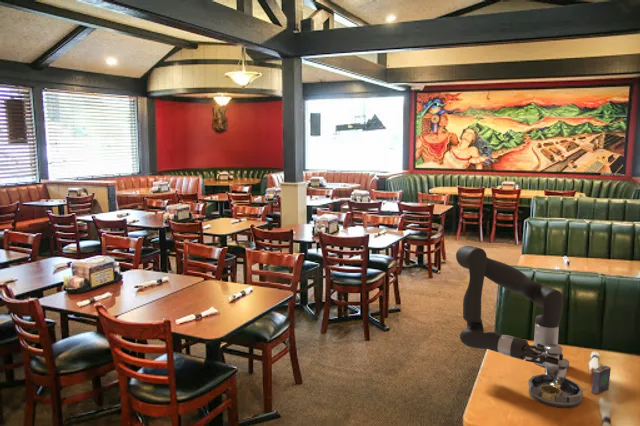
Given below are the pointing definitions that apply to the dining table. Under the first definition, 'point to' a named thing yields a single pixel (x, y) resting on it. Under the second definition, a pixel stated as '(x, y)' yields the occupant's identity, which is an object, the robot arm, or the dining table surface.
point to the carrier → (556, 388)
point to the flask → (601, 379)
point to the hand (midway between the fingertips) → (560, 359)
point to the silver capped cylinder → (554, 352)
